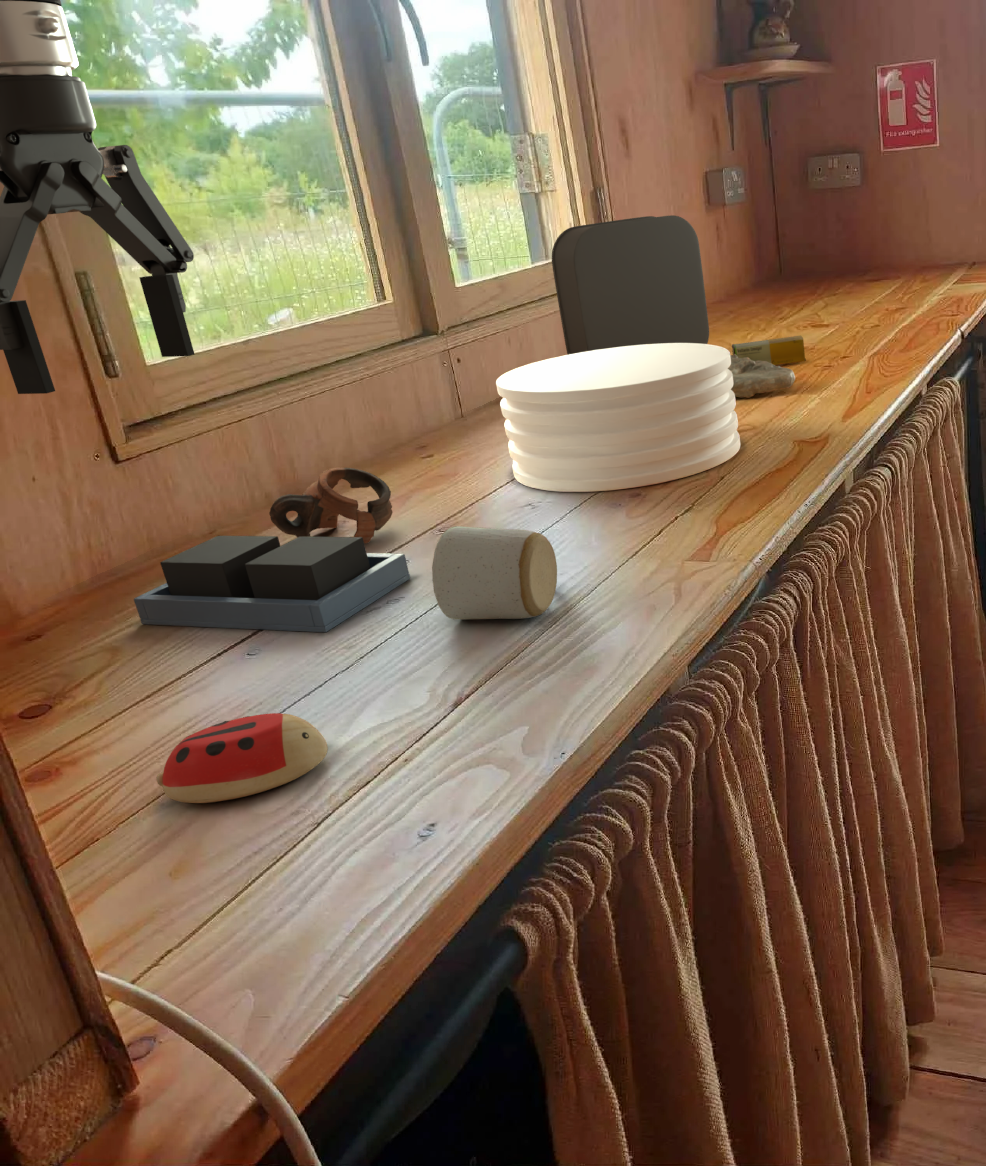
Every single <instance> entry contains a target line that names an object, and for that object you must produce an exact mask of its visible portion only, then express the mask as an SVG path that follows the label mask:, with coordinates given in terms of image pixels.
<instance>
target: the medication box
mask: <svg viewBox="0 0 986 1166" xmlns="http://www.w3.org/2000/svg"><path fill="white" fill-rule="evenodd" d="M804 343H805V342H804V337H803V336H802V335H794V336H786V337H779V338H771V339H764V340H763V339H762V340H756V341H748V342H741V343H732V344H731V353H732V355H734V354H736V355H737V357H738V358H740V359H741V358H744V357H745V358H746V357H748V358H749V359H750V360H752V361H754V362H755V361H767V362H768V363H771V364H773V365H775V366H780V365H786V364H795V363H801V362H802V363H803V362H806V361H807V359H806V353H805V344H804Z"/></svg>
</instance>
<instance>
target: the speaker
mask: <svg viewBox="0 0 986 1166" xmlns="http://www.w3.org/2000/svg"><path fill="white" fill-rule="evenodd" d="M699 241H700V240H699V239H698V234H697V232H696V231H695V228H694V227H693V226H692V224H691V223H690V222H689V221H688V220H686V219H685V218H684V217H681V216H679V215H672V214H671V215H662V216H653V215H648V216H639V217H631V218H624V219H615V220H610V221H602V222H595V223H588V224H582V225H576V226H571V227H568V228H566V229H565V230H564V231H562V232H561V233H560V234H559V235H558V237H556V239H555V241H554V243H553V246H552V250H551V266H552V273H553V279H554V285H555V291H556V297H557V303H558V311H559V315H560V321H561V328H562V333H563V339H564V344H565V349H566V355H569V354H575V353H580V352H586V351H593V350H599V349H607V348H614V347H623V346H633V345H645V344H661V343H700V344H709V339H710V324H709V314H708V306H707V297H706V289H705V281H704V280H705V279H704V274H703V265H702V264H703V263H702V257H701V256H702V255H701V249H700V242H699Z"/></svg>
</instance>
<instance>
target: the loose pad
mask: <svg viewBox="0 0 986 1166" xmlns="http://www.w3.org/2000/svg"><path fill="white" fill-rule="evenodd" d="M367 553H368V552H367V549H366V545H365V543H364V541H363V537H354V536H310V537H295V538H294V539H291V540H290V541H288V542H285V543H284V544H282V545H280V547H278V548H276V549H274V550H272V551H270V552H268V553H266V554H264V555H262V556H260V557H258V558H256V559H254V560H252V561H250V562H248V563H246V564H245V566H246V570H247V573H248V576H249V580H250V583H251V587H252V590H253V593H254V597H255V598H262V599H292V600H316V601H317V600H318V599H320V598H322V597H323V596H325V595H327V594H329V593H330V592H332V591H334V590H335V589H337V588H339V587H340V586H342V585H344V584H345V583H347V582H349V581H350V580H352V579H354V578H356V577H357V576H359V575H361V574H362V573H364V572H366V571H367V570H369V569H370V565H369V561H368V557H367Z"/></svg>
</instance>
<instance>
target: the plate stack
mask: <svg viewBox="0 0 986 1166" xmlns="http://www.w3.org/2000/svg"><path fill="white" fill-rule="evenodd" d="M730 355H731V351H730V350H729V349H727V348H726V347H724V346H721V345H716V344H711V343H707V344H700V343H661V344H645V345H633V346H623V347H614V348H607V349H599V350H593V351H586V352H580V353H575V354H569V355H567V354H565V355H560V356H556V357H551V358H547V359H543V360H539V361H535V362H531V363H528V364H525V365H522V366H519V367H515V368H513V369H511V370H509V371H507V372H505V373H503V374H501V375H500V376H499V377H498V378H497V379H496V381H495V385H496V391H497V394H498V395H499V397H501V398H502V399H501V400H500V402H499V405H500V411H501V415H502V417H504V419H505V421H504V423H503V425H504V431H505V436H506V437H507V439H508V440H509V441H508V443H507V444H508V445H507V446H508V452H509V456H510V458H511V460H512V465H511V468H512V473H513V477H514V479H515V480H516V481H517V482H518V483H520V484H521V485H524V486H526V487H528V488H532V489H536V490H542V491H549V492H563V493H589V492H592V493H593V492H607V491H617V490H618V491H619V490H625V489H632V488H639V487H646V486H652V485H657V484H663V483H666V482H672V481H675V480H678V479H679V480H680V479H682V478H687V477H689V476H690V477H691V476H693V475H696V474H700V473H703V472H705V471H707V470H710V469H713V468H715V467H718V466H720V465H721V464H723V463H725V462H727V461H729V460H730V459H732V458H733V457H734V456H735V455H737V453H738V452H739V451H740V449H741V437H740V432H738V428H739V421H738V419H739V418H738V413H737V412H736V411H735V408H736V407H737V403H736V397H735V394H734V392H733V391H732V390H731V388H732V387H733V375H732V372H731V371H730V370H729V369H728V368H729V366H730V365H731V357H730Z"/></svg>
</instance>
